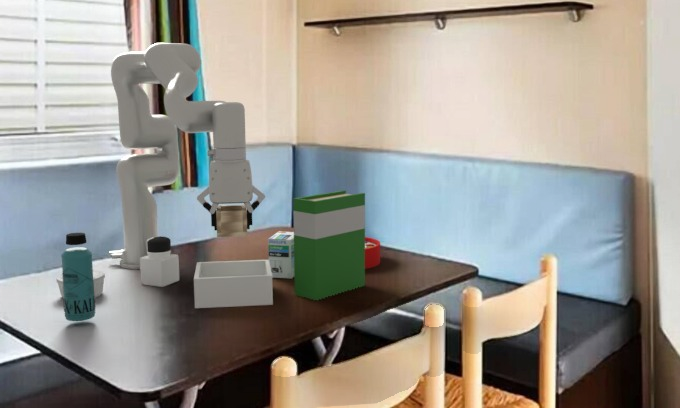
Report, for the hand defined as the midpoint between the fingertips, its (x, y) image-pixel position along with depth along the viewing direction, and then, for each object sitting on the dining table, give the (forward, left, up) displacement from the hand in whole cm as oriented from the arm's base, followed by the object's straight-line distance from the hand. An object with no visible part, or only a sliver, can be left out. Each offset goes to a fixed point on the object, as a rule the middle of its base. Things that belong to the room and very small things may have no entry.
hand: (232, 228), depth 176 cm
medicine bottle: (-19, +16, -17) cm, 30 cm away
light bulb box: (+14, +20, -17) cm, 30 cm away
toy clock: (+32, +31, -18) cm, 48 cm away
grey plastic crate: (0, 0, -17) cm, 17 cm away
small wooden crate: (0, 0, -1) cm, 1 cm away
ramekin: (-37, +7, -17) cm, 41 cm away
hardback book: (+24, +2, -17) cm, 30 cm away
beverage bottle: (-33, -15, -17) cm, 40 cm away
